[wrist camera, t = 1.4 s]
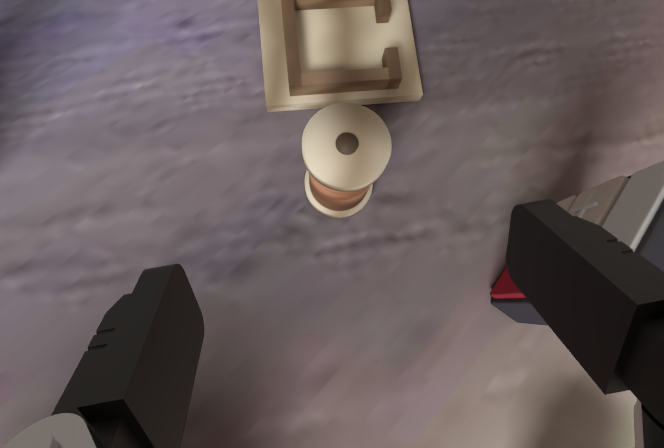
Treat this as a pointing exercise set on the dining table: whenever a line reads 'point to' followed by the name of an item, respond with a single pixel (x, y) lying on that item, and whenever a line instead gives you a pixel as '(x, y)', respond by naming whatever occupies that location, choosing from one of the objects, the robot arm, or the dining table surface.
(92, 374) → the robot arm
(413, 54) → the board
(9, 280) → the dining table surface
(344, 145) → the bobbin
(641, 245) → the calculator
